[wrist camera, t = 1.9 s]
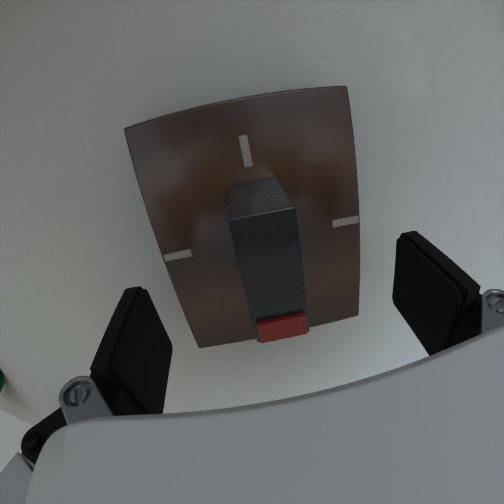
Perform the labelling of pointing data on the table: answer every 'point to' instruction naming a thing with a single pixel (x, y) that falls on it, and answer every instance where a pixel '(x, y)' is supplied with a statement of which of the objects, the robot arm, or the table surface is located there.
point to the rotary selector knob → (269, 258)
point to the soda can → (1, 381)
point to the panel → (245, 171)
